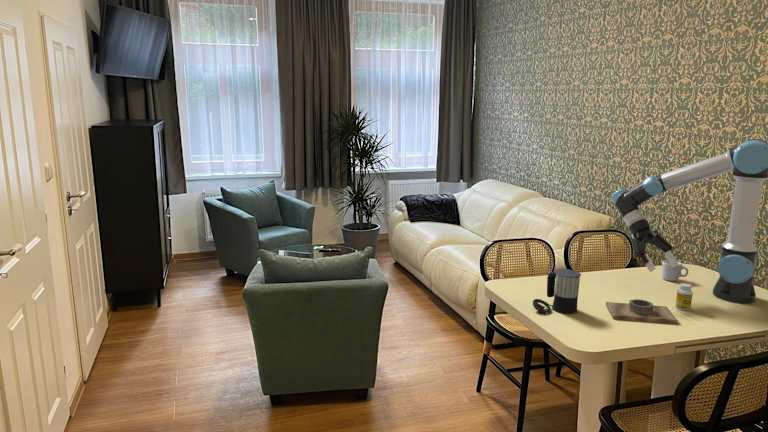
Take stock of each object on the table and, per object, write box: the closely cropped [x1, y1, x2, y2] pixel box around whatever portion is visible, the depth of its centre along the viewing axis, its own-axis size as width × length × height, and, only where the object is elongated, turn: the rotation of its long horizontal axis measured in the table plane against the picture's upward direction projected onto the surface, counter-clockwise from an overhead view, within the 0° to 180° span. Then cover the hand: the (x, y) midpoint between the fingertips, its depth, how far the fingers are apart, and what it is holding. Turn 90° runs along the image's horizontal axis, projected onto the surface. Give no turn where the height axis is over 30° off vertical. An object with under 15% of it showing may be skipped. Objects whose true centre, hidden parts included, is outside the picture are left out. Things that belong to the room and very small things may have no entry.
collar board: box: [605, 298, 679, 325], centre depth 218 cm, size 22×14×4 cm, turn 80°
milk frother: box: [532, 268, 582, 315], centre depth 219 cm, size 14×16×15 cm
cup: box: [661, 259, 689, 282], centre depth 259 cm, size 11×8×8 cm
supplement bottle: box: [675, 282, 694, 312], centre depth 224 cm, size 5×5×10 cm
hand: (664, 268), depth 231 cm, fingers open, 13 cm apart
